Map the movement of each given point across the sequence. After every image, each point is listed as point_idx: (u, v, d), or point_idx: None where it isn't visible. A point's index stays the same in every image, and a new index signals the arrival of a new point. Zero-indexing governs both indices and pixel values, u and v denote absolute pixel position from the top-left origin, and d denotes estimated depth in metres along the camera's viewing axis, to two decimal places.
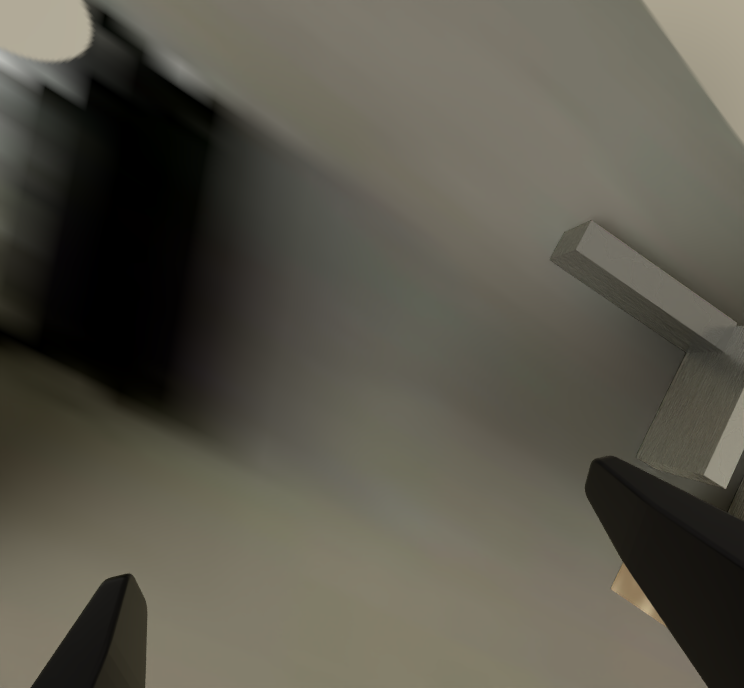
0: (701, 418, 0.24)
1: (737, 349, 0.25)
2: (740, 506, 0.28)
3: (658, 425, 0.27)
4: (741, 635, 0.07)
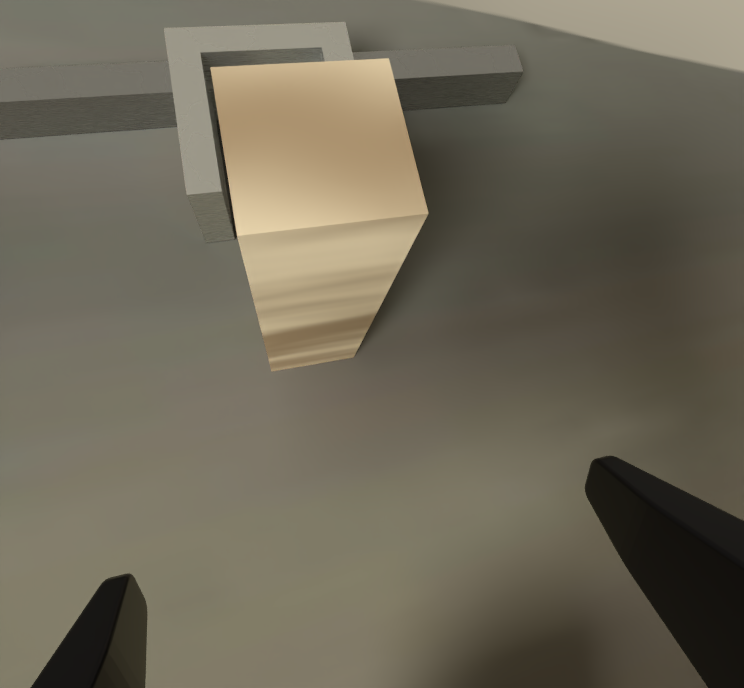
0: None
1: None
2: None
3: None
4: (741, 635, 0.07)
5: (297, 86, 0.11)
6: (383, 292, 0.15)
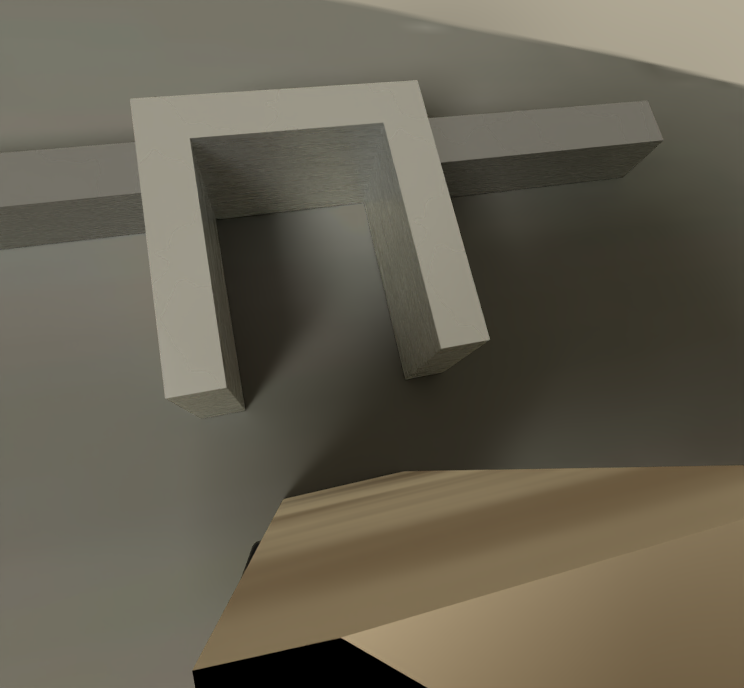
0: None
1: None
2: (404, 358, 0.16)
3: None
4: None
5: None
6: None
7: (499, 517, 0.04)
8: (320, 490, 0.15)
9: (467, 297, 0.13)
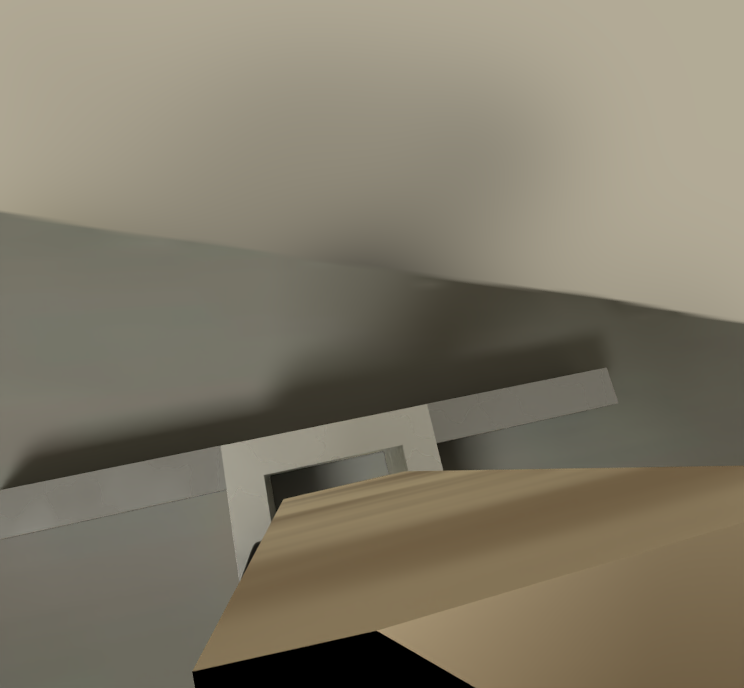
0: None
1: None
2: None
3: None
4: None
5: None
6: None
7: (501, 518, 0.04)
8: None
9: None
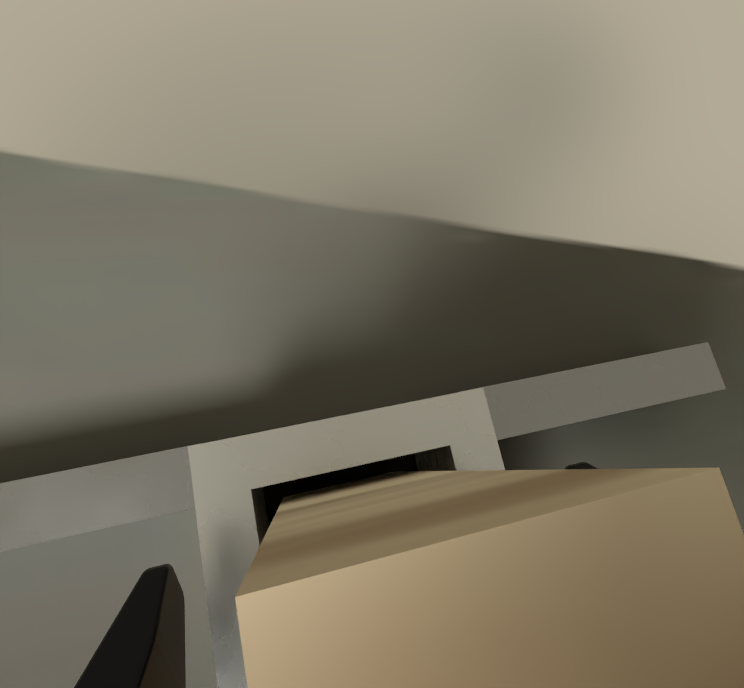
0: None
1: None
2: None
3: None
4: None
5: (497, 620, 0.03)
6: None
7: (447, 507, 0.05)
8: (317, 489, 0.17)
9: None
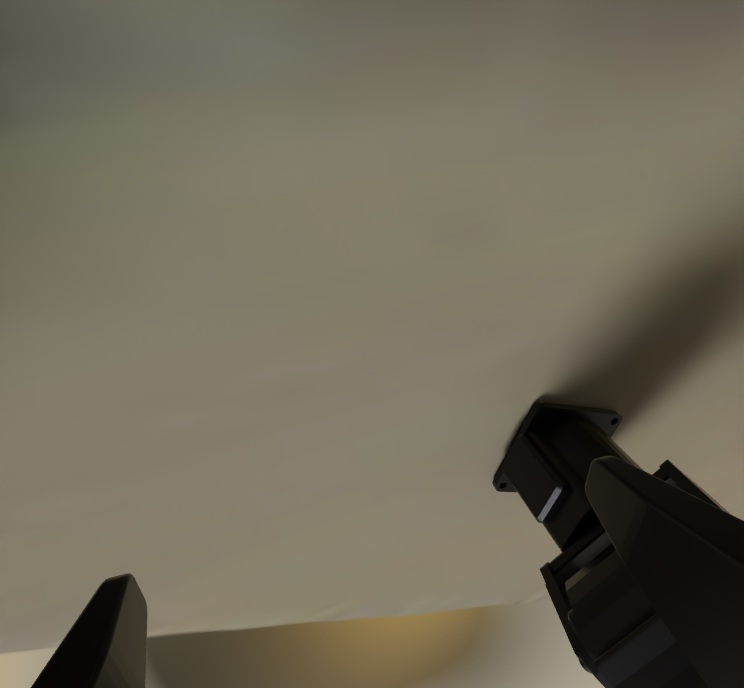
0: None
1: None
2: None
3: None
4: (741, 635, 0.07)
5: None
6: None
7: None
8: None
9: None
